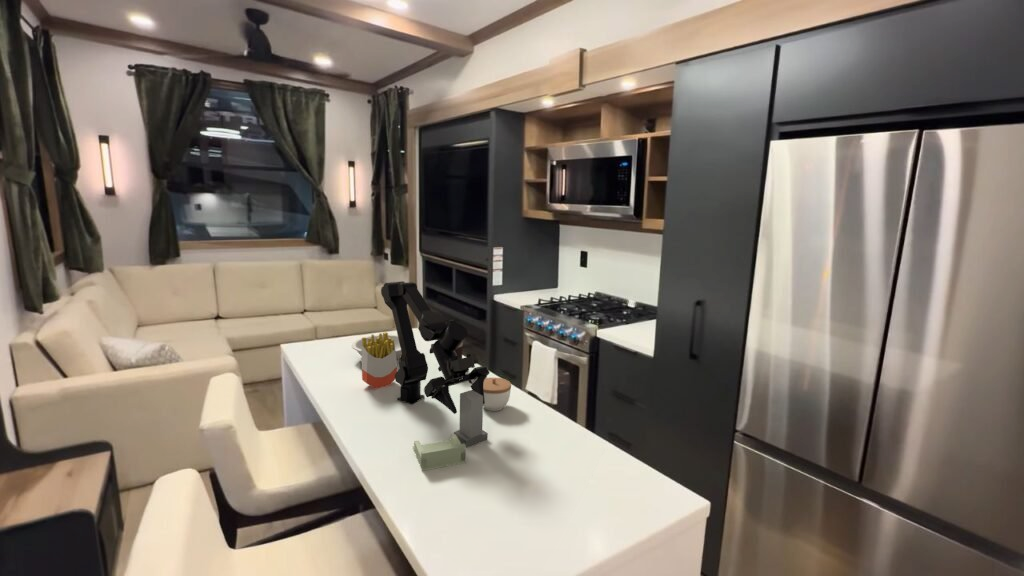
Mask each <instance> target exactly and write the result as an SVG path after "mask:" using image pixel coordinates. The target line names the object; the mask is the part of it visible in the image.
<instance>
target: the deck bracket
mask: <svg viewBox="0 0 1024 576" xmlns="http://www.w3.org/2000/svg"><path fill="white" fill-rule="evenodd" d="M413 444H414V445H412V449H413V452H414V454H416V455H415V456H416V459H418V460H417V462H418V464H420V465H419V467H420V469H422V470H421V471H422V472H423V470H424V471H429V470H434V469H433V468H435V469H439V467H440V468H444V466H445V467H450V466H453V465H454V464H455V465H459V464H460V465H461V464H465V463H466V460H467V459H466V455H467V453H466V452H467V448H466V445H465V444H461V443H460V441H459V439H458V438H457V436H456V434H454V433H453V434H450V439H447V440H441V441H435V442H429V443H423V444H421V442H420V440H419V439H418V440H414V443H413ZM449 465H450V466H449Z"/></svg>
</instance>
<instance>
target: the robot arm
mask: <svg viewBox="0 0 1024 576" xmlns="http://www.w3.org/2000/svg"><path fill="white" fill-rule="evenodd" d="M380 294H381V296H382V298H383V301H384V304H385V305H386V306H387V307H388V308H389V309H390V310H391V312H392V317H393V320H394V325H395V329H396V335H398V339H399V343H400V347H401V352H402V355H401V357H400V358H399V362H398V367H399V368H398V369H397V373H396V374H395V380H394V381H395V382H396V383H397V384H398V385H400V388H399V389H400V393H399V395H400V396H398V397H397V398H396V401H398V402H403V403H406V404H410V405H414V404H415V403H417V402H419V401H421V400H422V399H424V398H425V397H426V398H429V397H430V398H431V399H435V400H437V401H438V402H440V404H442V405H443V406H445V407H446V408H447V409H448V410H449V411H451V412H452V413H453V414H454V415H455V414H457V413H458V409H457V408H456V407H457V406H456V405H455V402H454V401H453V398H452V396H451V393H450V390H449V389H450V387H451V386H454V385H459V384H462V383H465V382H468V383H469V384H471V385H470V386H469V387H470V388H471V390H473V391H475V392H477V393H479V394H480V395H482V396H483V404H484V403H485V400H484V390H483V383H484V380H485V379H486V378H488V375H489V374H490V370H489V369H488V367H487V366H485V365H480V366H477V367H476V364H478V363H479V358H478V355H477V353H476V352H469V353H467V354H466V357H463V356H462V357H461V356H460V355H459V356H457V354H456V352H455V350H456V349H457V348H458V347H459V346H460V345H461V344H462V342H463V343H464V341H465V340H466V339H467V337H468V330H467V328H466V327H465V326H463V325H462V324H460V323H458V322H457V321H456V319H450V320H448V321H447V322H446V320H445V319H444V318H443V317H442V316H441V315H440V314H438V313H435V312H434V311H433V310H432V309H431V307H430V306H429V304H428V303H427V302H426V300H425V298H424V296H423V295H422V294H421V292H420V291H419V289H418V285H417V283H416V282H413V281H408V282H405V281H403V280H401V281H392V282H391V281H389V282H384V284H383V286H382V287H381V288H380ZM408 307H409V309H410V310H411V312H412V313H413V315H414V317H415V319H417V322H418V332H419V333H420V336H421V338H422V339H423V340H424V341H425V342H433V341H434V343H431V344H430V349H429V354H431V355H432V354H433V355H434V356H435V359H436V361H437V364H438V368H437V370H438V372H441V373H442V376H438V377H434V378H430V380H429V381H428V382H427V383H426V385H425V386H424V387H423V392H424V394H421V392H422V391H421V382H422V381H426V380H427V376H428V372H429V366H428V362H427V360H426V355H425V353H424V352H420V351H419V349H418V348H417V343H416V339H415V335H414V331H413V327H412V323H411V318H410V315H409V310H408ZM438 339H439V340H438ZM470 368H471V371H470ZM469 371H470V372H469ZM468 372H469V373H468Z"/></svg>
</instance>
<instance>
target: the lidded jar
mask: <svg viewBox="0 0 1024 576" xmlns="http://www.w3.org/2000/svg"><path fill="white" fill-rule="evenodd" d="M511 388H512V383H511V382H510V381H509V380H508V379H505V378H501V377H487V378H486V379H485V380H484V383H483V390H484V400H485V403H484V404H483V409H485V410H486V411H489V412H490V411H491V412H498V411H500V410H502V409H504V407H505V406H506V405H507V403H508V402H509V400H510V397H511Z"/></svg>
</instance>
